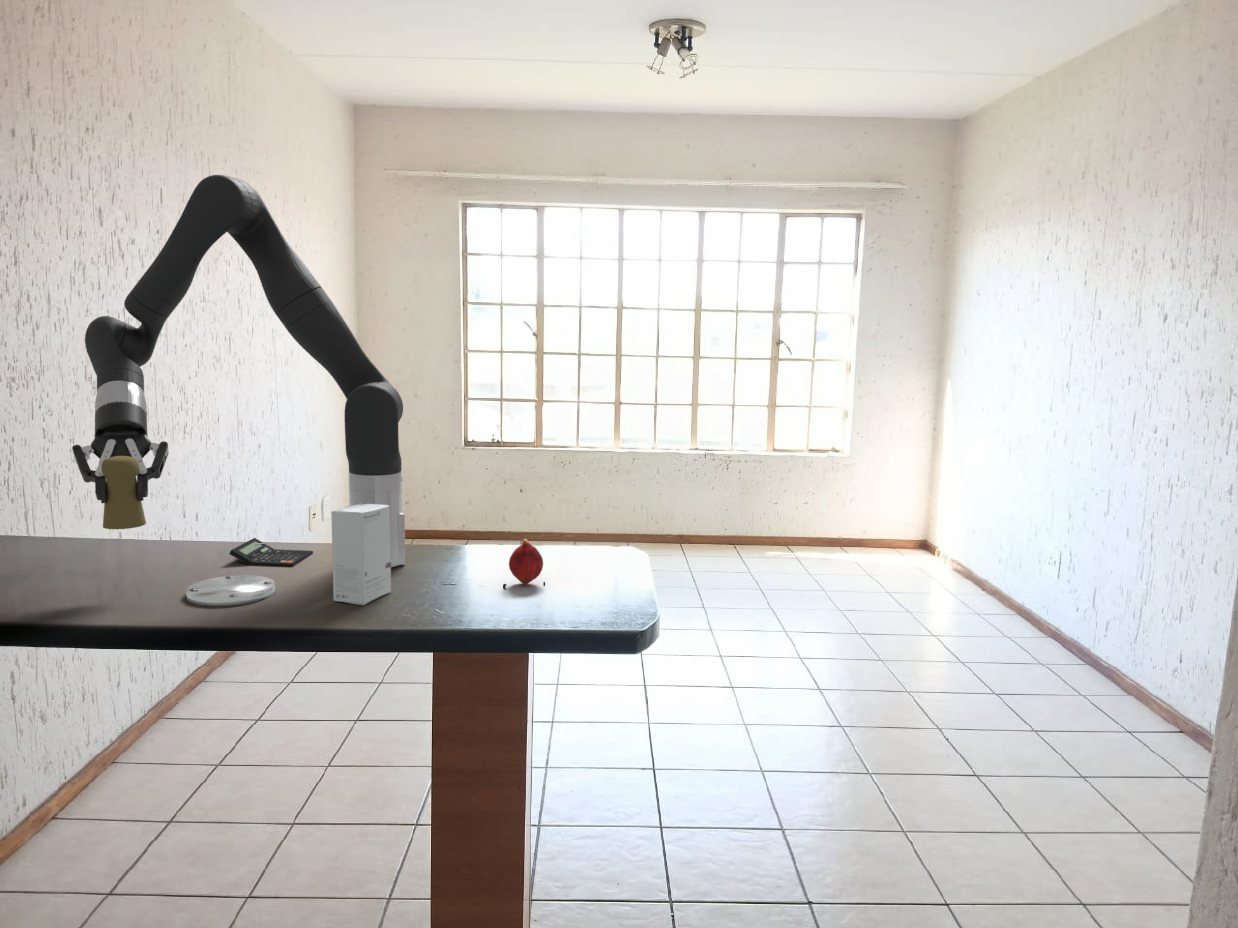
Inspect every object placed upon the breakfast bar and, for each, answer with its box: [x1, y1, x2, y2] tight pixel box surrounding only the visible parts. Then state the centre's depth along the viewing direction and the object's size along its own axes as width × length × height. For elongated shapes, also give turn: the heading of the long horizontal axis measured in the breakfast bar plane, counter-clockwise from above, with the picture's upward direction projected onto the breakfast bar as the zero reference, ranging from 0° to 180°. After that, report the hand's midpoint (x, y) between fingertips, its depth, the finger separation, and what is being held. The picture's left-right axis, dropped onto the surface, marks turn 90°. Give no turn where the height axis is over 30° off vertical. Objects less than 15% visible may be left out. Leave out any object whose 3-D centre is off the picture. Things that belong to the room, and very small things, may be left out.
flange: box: [185, 574, 276, 607], centre depth 140 cm, size 13×13×1 cm
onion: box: [508, 538, 544, 586], centre depth 150 cm, size 6×6×8 cm
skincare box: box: [330, 504, 392, 606], centre depth 140 cm, size 8×6×15 cm
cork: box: [101, 456, 147, 530], centre depth 137 cm, size 6×6×11 cm
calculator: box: [229, 537, 314, 568], centre depth 161 cm, size 9×12×3 cm
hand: (122, 498), depth 136 cm, fingers closed on cork, 4 cm apart
